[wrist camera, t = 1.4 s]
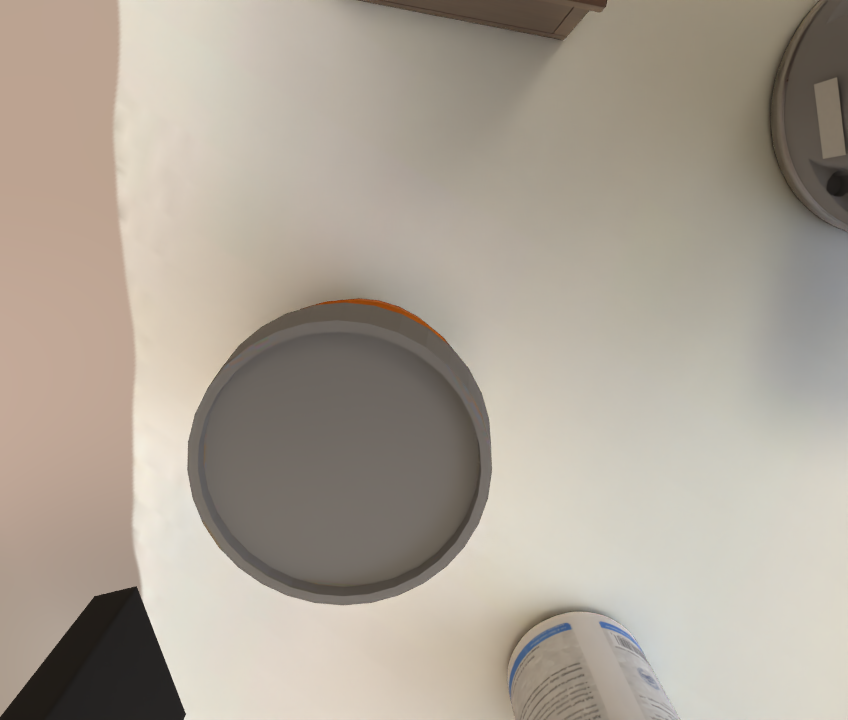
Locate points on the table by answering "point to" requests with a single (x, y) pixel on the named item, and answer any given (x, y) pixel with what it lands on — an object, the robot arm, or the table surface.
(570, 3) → the bin lid
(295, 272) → the table surface
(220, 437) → the reusable coffee cup
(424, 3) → the bin
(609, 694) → the supplement tub
